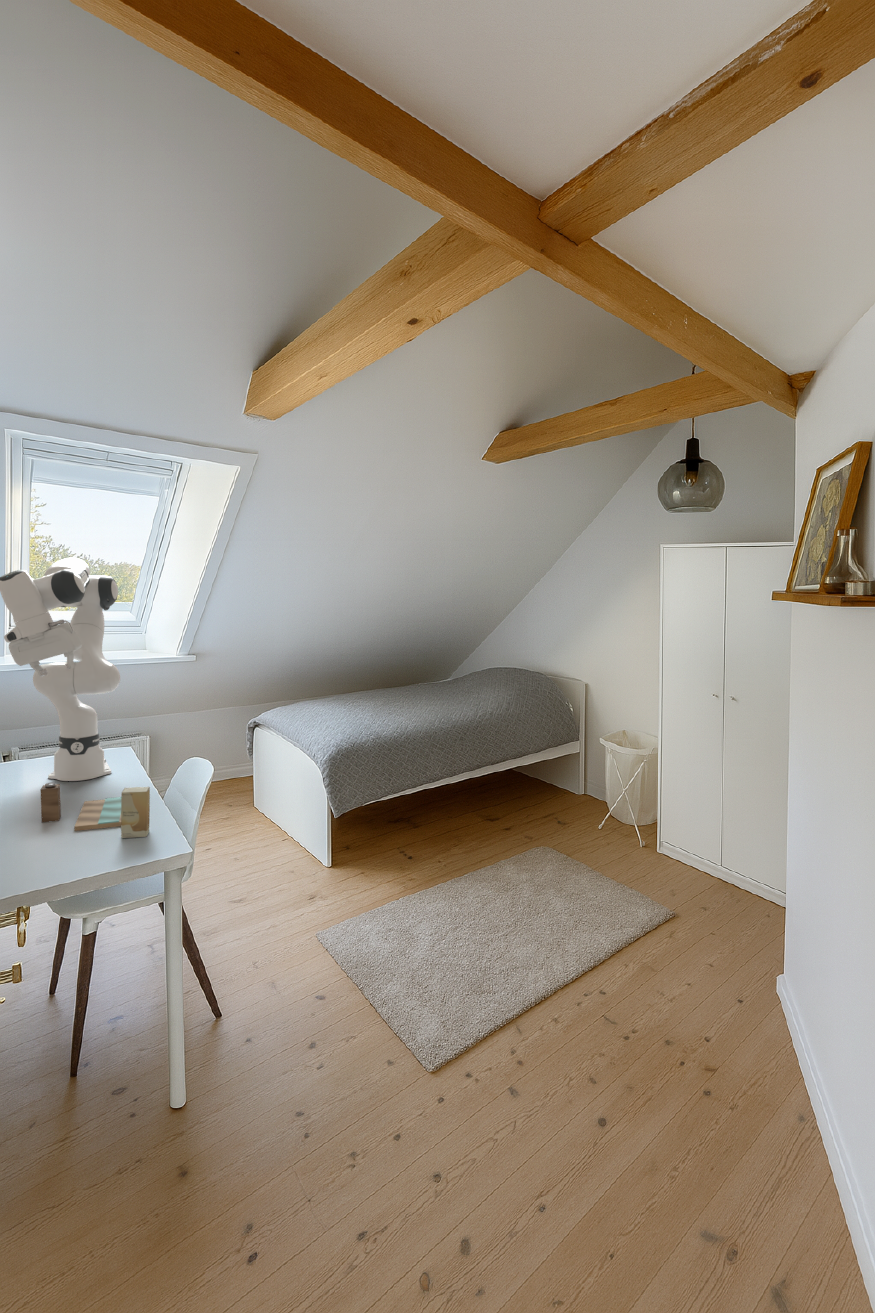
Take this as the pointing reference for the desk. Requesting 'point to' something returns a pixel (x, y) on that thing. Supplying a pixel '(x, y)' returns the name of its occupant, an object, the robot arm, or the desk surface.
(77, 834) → the desk surface
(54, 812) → the walnut post
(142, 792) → the skincare box
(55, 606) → the robot arm
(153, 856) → the desk surface
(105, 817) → the tan flat board
